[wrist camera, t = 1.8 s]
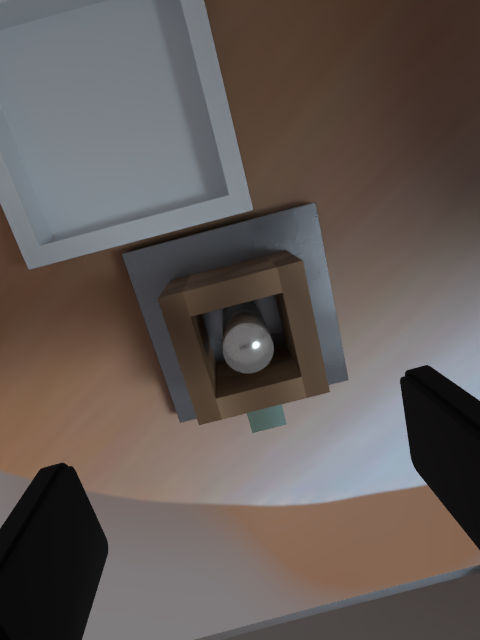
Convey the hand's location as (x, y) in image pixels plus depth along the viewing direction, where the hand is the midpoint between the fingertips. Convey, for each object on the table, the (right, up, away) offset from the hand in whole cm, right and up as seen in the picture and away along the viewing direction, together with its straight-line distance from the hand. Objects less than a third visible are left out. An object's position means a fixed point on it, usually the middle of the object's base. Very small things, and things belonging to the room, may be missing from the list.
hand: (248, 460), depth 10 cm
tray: (-7, +14, +10) cm, 18 cm away
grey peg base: (0, +4, +13) cm, 14 cm away
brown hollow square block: (0, +4, +12) cm, 12 cm away
